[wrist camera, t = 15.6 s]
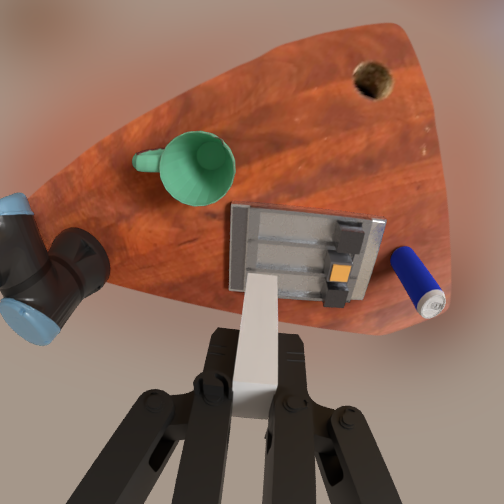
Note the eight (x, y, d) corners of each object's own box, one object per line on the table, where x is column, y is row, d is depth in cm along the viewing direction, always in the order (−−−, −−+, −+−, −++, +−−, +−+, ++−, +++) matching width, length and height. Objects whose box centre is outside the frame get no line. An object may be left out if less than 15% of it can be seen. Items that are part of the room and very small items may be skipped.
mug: (246, 128, 40) (238, 134, 32) (239, 188, 45) (231, 211, 36) (155, 122, 40) (126, 129, 32) (153, 179, 45) (127, 199, 36)
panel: (229, 285, 55) (226, 304, 50) (232, 200, 46) (227, 213, 41) (361, 295, 54) (367, 313, 49) (383, 216, 45) (395, 230, 41)
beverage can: (385, 266, 50) (414, 319, 37) (394, 243, 48) (427, 292, 35) (407, 269, 50) (438, 319, 37) (416, 246, 48) (452, 294, 35)
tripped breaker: (323, 268, 49) (326, 282, 46) (327, 249, 48) (331, 262, 44) (343, 270, 49) (348, 284, 46) (348, 251, 47) (354, 264, 44)
